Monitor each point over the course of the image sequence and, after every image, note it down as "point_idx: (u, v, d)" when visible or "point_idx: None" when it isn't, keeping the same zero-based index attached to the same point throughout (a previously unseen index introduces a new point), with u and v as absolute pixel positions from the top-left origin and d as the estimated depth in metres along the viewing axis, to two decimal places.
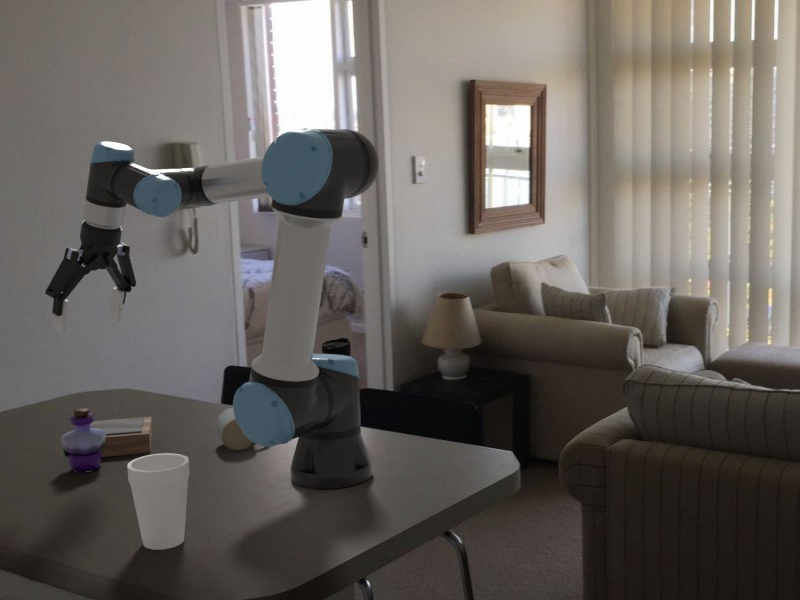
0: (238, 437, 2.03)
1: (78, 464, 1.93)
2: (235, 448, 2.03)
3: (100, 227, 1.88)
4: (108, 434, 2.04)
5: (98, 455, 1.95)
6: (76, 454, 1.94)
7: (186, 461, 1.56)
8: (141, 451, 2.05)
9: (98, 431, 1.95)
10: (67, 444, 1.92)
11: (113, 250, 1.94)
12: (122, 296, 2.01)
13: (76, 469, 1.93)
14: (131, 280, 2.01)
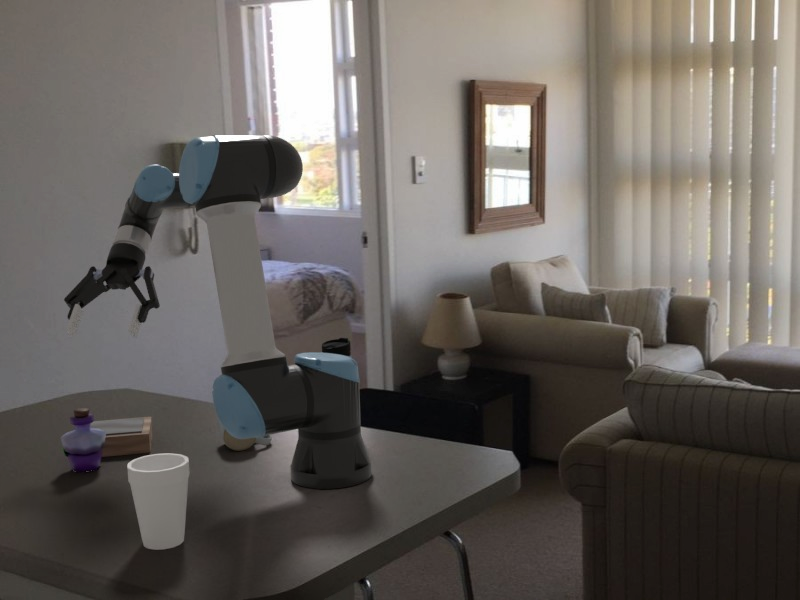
0: None
1: (78, 464, 1.93)
2: (236, 448, 2.03)
3: None
4: (108, 434, 2.04)
5: (98, 455, 1.95)
6: (76, 454, 1.94)
7: (186, 461, 1.56)
8: (141, 451, 2.05)
9: (98, 431, 1.95)
10: (67, 444, 1.92)
11: (132, 269, 2.10)
12: (137, 307, 2.03)
13: (76, 469, 1.93)
14: (150, 295, 2.05)
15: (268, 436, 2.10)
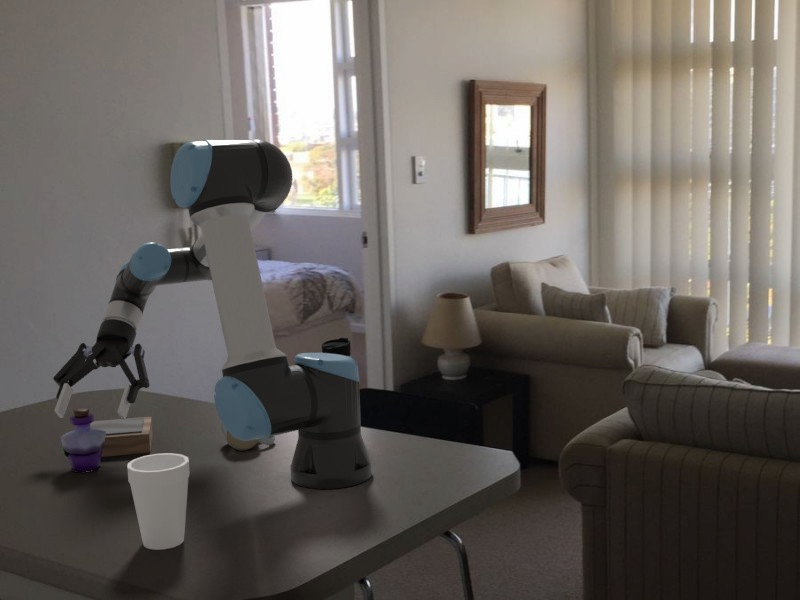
0: None
1: (78, 464, 1.93)
2: (240, 447, 2.03)
3: None
4: (108, 434, 2.04)
5: (98, 455, 1.95)
6: (76, 454, 1.94)
7: (186, 461, 1.56)
8: (141, 451, 2.05)
9: (98, 431, 1.95)
10: (67, 444, 1.92)
11: (122, 346, 2.07)
12: (126, 388, 2.00)
13: (76, 469, 1.93)
14: (139, 375, 2.02)
15: (271, 436, 2.10)
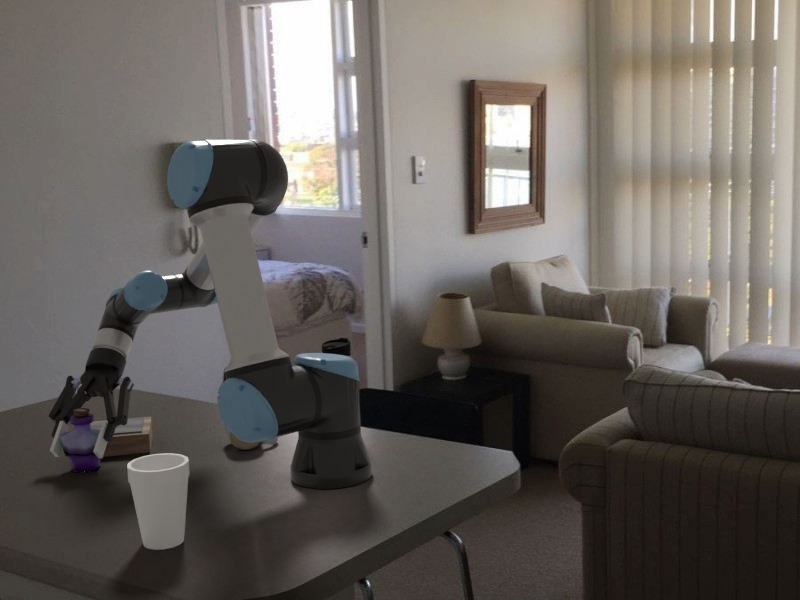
0: None
1: (78, 464, 1.93)
2: (243, 447, 2.04)
3: None
4: None
5: None
6: (76, 454, 1.94)
7: (186, 461, 1.56)
8: (141, 451, 2.05)
9: (98, 431, 1.95)
10: (67, 444, 1.92)
11: (112, 375, 2.01)
12: (103, 426, 1.94)
13: (76, 469, 1.93)
14: (118, 411, 1.95)
15: None
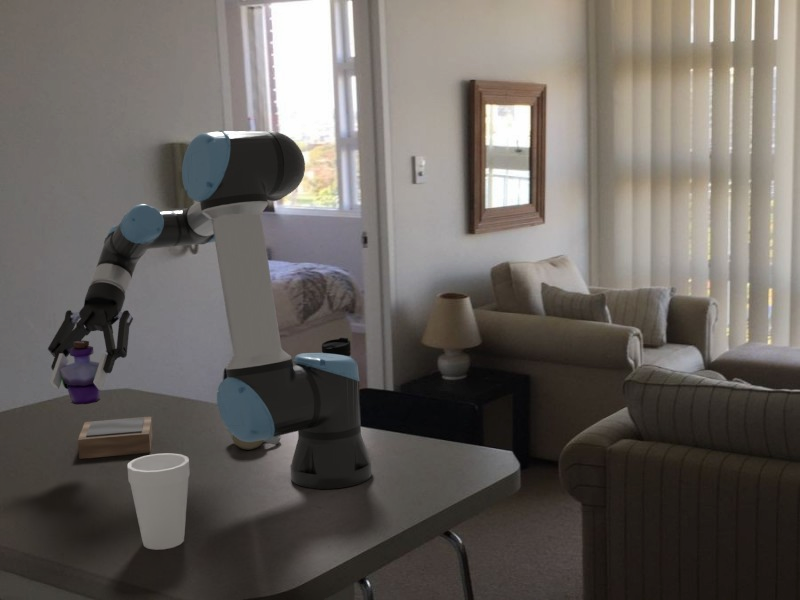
0: None
1: (77, 396, 1.94)
2: (245, 447, 2.04)
3: None
4: (108, 434, 2.04)
5: None
6: (76, 386, 1.94)
7: (186, 461, 1.56)
8: (141, 451, 2.05)
9: (98, 363, 1.96)
10: (67, 375, 1.92)
11: (111, 309, 2.01)
12: (102, 357, 1.94)
13: (76, 401, 1.94)
14: (118, 343, 1.96)
15: None
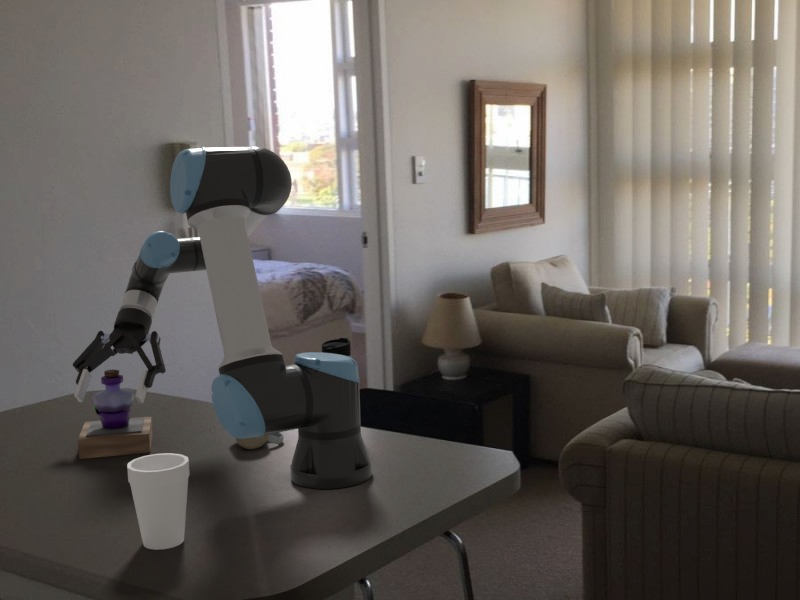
0: None
1: (108, 422, 2.07)
2: (248, 446, 2.04)
3: None
4: (108, 434, 2.04)
5: (127, 413, 2.09)
6: (107, 412, 2.08)
7: (186, 461, 1.56)
8: (141, 451, 2.05)
9: (127, 391, 2.09)
10: (98, 402, 2.06)
11: (139, 333, 2.14)
12: (143, 373, 2.08)
13: (107, 426, 2.07)
14: (156, 361, 2.09)
15: (280, 435, 2.10)
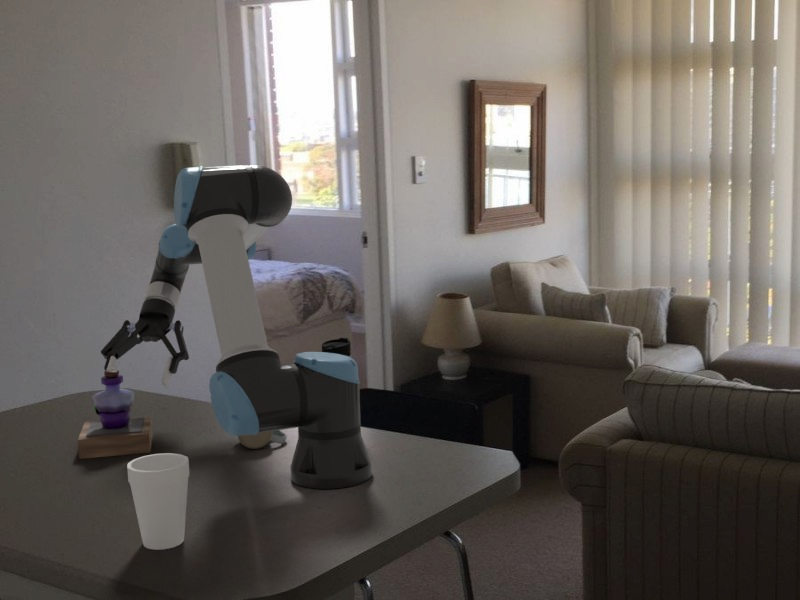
0: (254, 435, 2.04)
1: (108, 422, 2.07)
2: (251, 446, 2.04)
3: None
4: (108, 434, 2.04)
5: (127, 413, 2.09)
6: (107, 412, 2.08)
7: (186, 461, 1.56)
8: (141, 451, 2.05)
9: (127, 391, 2.09)
10: (98, 402, 2.06)
11: (163, 322, 2.27)
12: (168, 360, 2.20)
13: (107, 426, 2.07)
14: (180, 348, 2.21)
15: (283, 434, 2.11)
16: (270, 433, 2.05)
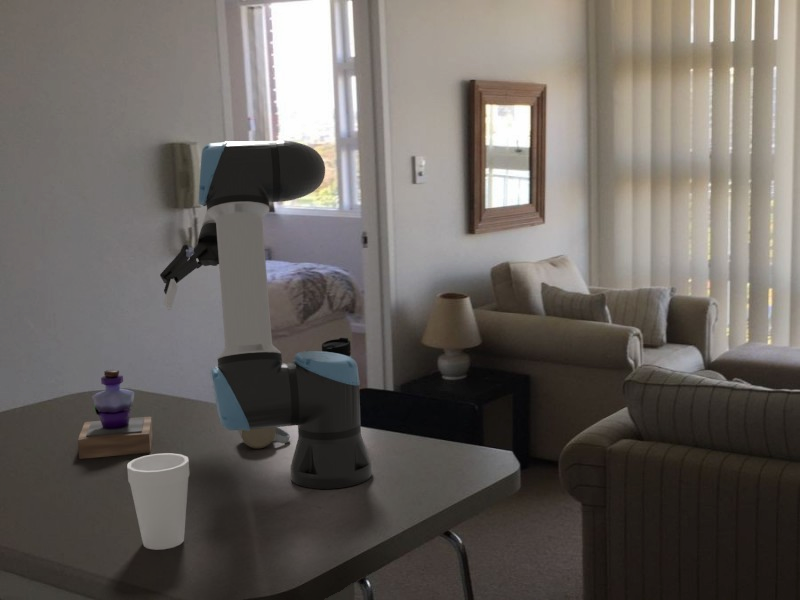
0: (257, 435, 2.04)
1: (108, 422, 2.07)
2: (255, 446, 2.04)
3: None
4: (108, 434, 2.04)
5: (127, 413, 2.09)
6: (107, 412, 2.08)
7: (186, 461, 1.56)
8: (141, 451, 2.05)
9: (127, 391, 2.09)
10: (98, 402, 2.06)
11: None
12: None
13: (107, 426, 2.07)
14: None
15: (286, 434, 2.11)
16: (273, 433, 2.05)
